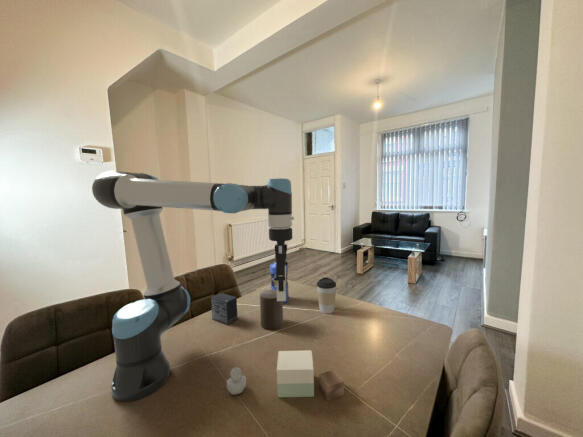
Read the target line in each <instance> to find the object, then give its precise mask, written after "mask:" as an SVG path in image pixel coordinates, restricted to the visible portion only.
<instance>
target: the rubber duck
mask: <svg viewBox="0 0 583 437" xmlns="http://www.w3.org/2000/svg"><path fill="white" fill-rule="evenodd" d="M246 386H247V378H246V376H245V375H242V369H241V368H240V367H239V366H238V367H237V366H235V367H234V368H232V369H231V371H230V377H229V378H228V379H227V381H226V389H227V391H228V392H229V393H230V394H231V395H234V396H235V395H238V394H241V393H242V392H243V391H244V389H245V388H246Z"/></svg>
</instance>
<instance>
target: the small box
mask: <svg viewBox="0 0 583 437" xmlns="http://www.w3.org/2000/svg"><path fill="white" fill-rule="evenodd" d="M237 299H238V298H237V296H235V295H234V296H232V295H229V294H226V293H223V292H222V293H218V294H216V295H213V296H211V297H210V302H211V303H210V304H211V319H212V320H213V321H216V322H218V323H220V324H224V325H225V326H229V325H230V324H232V323H234V322H235V321H237V320H238V319H239V318H238V300H237Z"/></svg>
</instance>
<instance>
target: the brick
mask: <svg viewBox="0 0 583 437" xmlns="http://www.w3.org/2000/svg"><path fill="white" fill-rule="evenodd" d="M318 378H319V382H318V383H319V384H318V385H319V388H320V390H321V392H322V393H323V395H324V396H325V398H326V400H327V401H329V400H333V399H335V398H336V399H337V398H338V397H341V396H344V395H345V386H344V385H345V384H344V383H345V382H344V380H343V379H342V378H341V375H339V374H338V372H337V370H336V369H332V370H329V371H325V372H322V373H319V374H318Z"/></svg>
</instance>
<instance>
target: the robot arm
mask: <svg viewBox="0 0 583 437" xmlns="http://www.w3.org/2000/svg"><path fill="white" fill-rule="evenodd" d="M91 186H92V187H91V190H92V191H91V192H92V195H93V197H94V198H95V200H96V201H97V202H98V203H99V204H100V205H102V206H104V207H106V208H109V209H114V210H117V209H119V210H120V209H122V212H123V215H124V217H126V218H128V219H129V220H130V221H131V226H132V231H133V234H134V237H135V242H136V245H137V251H138V255H139V259H140V263H141V268H142V271H143V275H144V280H145V283H146V289H145V290H144V291H143V298H144V299H143V298H142V299H138V300H136V301H135V302H130V303H127V304H126V305H124V306H123V307H121V308H120V309H118V311H117V312H115V314H114V315H113V318H112V329H111V333H112V338H113V345H114V346H113V347H114V352H115V353H114V354H115V362H116V366H115V370H114V374H113V377H112V381H111V385H110V388H111V395H112V397H113V398H114V400H117V401H120V402H131V401H132V402H133V401H136V400H138V399H142V398H144V397H147V396H149V395H150V394H152V393H154V392H155V391H156V390H158V389H160V388H161V387H162V386H163V385H165V382H166V381H167V380H168V379H169V377H170V374H171V368H170V366H171V365H170V361H169V360H168V359H167V357H166V355H165V353H164V350H163V349H162V348H163V347H162V337H161V336H162V335H163V334H164V333H165V332H166V331H168V330H169V329H170V328H171V327H172V326H174V324H176V323H177V322H179V321H180V320H181V319H182V318H183V317H184V316H185V314H186V313H187V312H188V311H189V309H190V306H191V296H190V294H189V292H188V290H187V289H185V287H183V286H182V285H181V282H180V281H178V280H176V279H175V277H174V272H173V268H172V264H171V259H170V255H169V250H168V246H167V242H166V239H165V234H164V229H163V225H162V222H161V220H162V219H161V216H160V214H161V213H162V211H163V209H164V208H174V209H175V208H176V209H188V210H201V211H202V210H203V211H213V212H214V211H216V212H222V213H224V214H237V213H239V212H243V211H244V212H246V211H249V210H268V214H267V217H268V218H267V221H268V222H267V223H268V227H269V229H268V240H270V241H272V242H276V244H275V245H274V252H275V253H274V254H275V256H274V257H275V258H274V260H275V259H276V278H274V281H276V285H277V301H286V266H285V265H288V266H289V264H288V263H289V262H288V261H287V252H288V244H286V242H287V241H291V240H293V228H292V226H293V220H295V217H294V216H292V215H293V199H292V198H293V192H292V182H291V180H290V179H288V178H279V177H278V178H269V179H268V180H267V183H266V184H265V185H247V184H246V185H244V184H238V183H229V182H228V183H216V182H201V181H200V182H199V181H189V180H188V181H185V180H170V179H159V178H157V177H156V176H154V175H152V174H148V173H143V172H141V173H139V172H128V171H122V170H121V171H120V170H108V171H105V172H102V173H101V174H99V175H97V177H96V178H95V179H94V180H93V183H92V185H91ZM166 383H167V382H166Z"/></svg>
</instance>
